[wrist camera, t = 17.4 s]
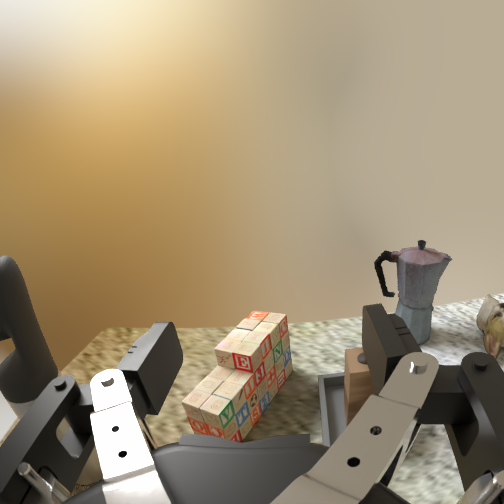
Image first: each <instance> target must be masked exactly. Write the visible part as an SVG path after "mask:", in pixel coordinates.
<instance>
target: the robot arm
mask: <svg viewBox="0 0 504 504" xmlns="http://www.w3.org/2000/svg"><path fill="white" fill-rule="evenodd" d="M8 338H12V340H13V342H14V344H15V347H16V349H15V350H14V351H13V352H12V353H11V354H10V355H9V356H8V357H7V358H6V359H5V360H4V361H3V362H2V363H1V364H0V391H1V392H2V394H3V396H4V397H5V399H6V400H7V402H8V403H9V405H10V406H11V408H12V409H13V411H14V412H15V414H16V415H17V417H18V418H19V419H20V421H19V422H18V424H17V425H16V426H15V428H14V429H13V430H12V432H11V433H10V434H9V436H8V437H7V438H6V440H5V441H4V443H3V444H2V445H1V447H0V504H410V503H409V502H407V501H406V500H404V499H403V498H402V497H400V496H399V495H397V494H396V493H395V492H393V491H392V490H390V489H389V486H390V485H391V483H392V482H393V480H394V478H395V476H396V475H397V473H398V471H399V469H400V467H401V465H402V463H403V461H404V459H405V457H406V455H407V453H408V452H409V450H410V448H411V446H412V444H413V442H414V440H415V438H416V436H417V434H418V432H419V430H420V428H421V426H422V424H444V426H445V428H446V431H447V434H448V437H449V440H450V443H451V446H452V450H453V453H454V456H455V459H456V463H457V466H458V469H459V473H460V476H461V480H462V484H463V488H464V491H465V494H464V495H463V496H462V497H461V498H460V500H459V501H458V502H457V504H504V372H503V370H502V369H501V367H500V366H499V364H498V363H497V361H496V360H495V359H494V358H493V357H492V356H490V355H488V354H486V353H482V352H474V353H470V354H468V355H466V356H465V357H464V358H463V359H462V362H461V365H439V363H438V361H437V359H436V358H435V357H434V356H432V355H430V354H427V353H423V352H422V350H421V349H420V347H419V345H418V344H417V342H416V340H415V338H414V337H413V335H412V334H411V332H410V330H409V328H407V325H406V323H405V322H404V320H403V319H402V318H401V317H399V316H398V315H396V314H395V313H394V314H387V313H386V311H385V309H384V307H383V306H382V304H374V305H366V306H363V319H362V346H363V352H364V355H365V358H366V361H367V364H368V368H369V371H370V374H371V377H372V381H373V384H374V387H375V391H376V394H377V395H376V394H372V395H371V396H370V397H369V398H368V399H367V401H366V402H365V403H364V405H363V406H362V408H361V409H360V410H359V412H358V413H357V414H356V416H355V417H354V418H353V420H352V421H351V422H350V424H349V425H348V426H347V427H346V429H345V430H344V431H343V432H342V434H341V435H340V436H339V437H338V439H337V440H336V441H335V442H334V443H333V445H332V446H331V447H328V446H325V445H321V444H316V443H310V434H301V435H285V436H274V437H269V438H265V439H260V440H255V441H250V442H244V443H240V442H235V441H231V440H227V439H223V438H219V437H215V436H210V435H194V434H182V436H181V438H180V441H179V442H176V443H171V444H167V445H164V446H161V447H157V444H156V442H155V440H154V438H153V435H152V433H151V431H150V428H149V426H148V424H147V422H146V420H145V416H146V414H150V415H158V414H159V412H160V409H161V407H162V405H163V403H164V401H165V399H166V397H167V395H168V393H169V391H170V388H171V386H172V384H173V382H174V380H175V378H176V376H177V374H178V372H179V370H180V368H181V366H182V363H183V352H182V348H181V345H180V342H179V339H178V336H177V332H176V329H175V326H174V324H173V323H172V322H156V323H154V324H153V326H152V327H151V328H150V330H149V331H148V332H147V333H145V334H144V335H142V336H141V337H140V338H138V339H137V340H136V341H135V343H134V344H133V345H132V348H130V349H129V351H128V353H126V355H125V356H124V357H123V359H122V360H121V361H120V363H119V364H118V366H117V367H116V368H115V369H110V370H105V371H103V372H101V373H99V374H97V375H96V376H95V377H94V378H93V379H92V381H91V384H83V385H78V384H77V382H76V381H75V379H74V377H73V376H71V375H62V376H61V374H60V372H59V371H58V368H57V366H56V364H55V362H54V360H53V358H52V356H51V353H50V351H49V348H48V345H47V343H46V341H45V338H44V336H43V334H42V331H41V329H40V326H39V324H38V321H37V318H36V316H35V313H34V310H33V307H32V303H31V300H30V297H29V294H28V290H27V287H26V284H25V281H24V278H23V276H22V274H21V271H20V269H19V267H18V265H17V264H16V262H15V261H14V260H13V259H12V258H11V257H9V256H0V341H2V340H5V339H8ZM103 477H104V480H102V481H100V482H99V483H97V484H95V485H93V486H91V487H90V488H88V489H86V490H84V491H82V492H80V493H78V494H76V495H74V496H72V497H71V496H70V495H71V493H72V491H73V488H74V486H75V484H80V485H89V484H93V483H95V482H98V481H99V480H101V479H102V478H103Z"/></svg>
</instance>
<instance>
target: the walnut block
mask: <svg viewBox="0 0 504 504" xmlns="http://www.w3.org/2000/svg"><path fill="white" fill-rule="evenodd" d="M372 394H376V391H375V387H374V384H373V381H372V377H371V374H370V371H369V368H368V364H367V361H366V358H365V355H364V352H363V347H362V348H354V349H346V350H345V378H344V404H343V405H344V412H345V420H346V427H347V426H348V425H349V424H350V422H351V421H352V420H353V418H354V417H355V416H356V414H357V413H358V412H359V410H360V409H361V408H362V406H363V405H364V403H365V402H366V401H367V399H368V398H369V397H370V396H371V395H372ZM376 395H377V394H376Z"/></svg>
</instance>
